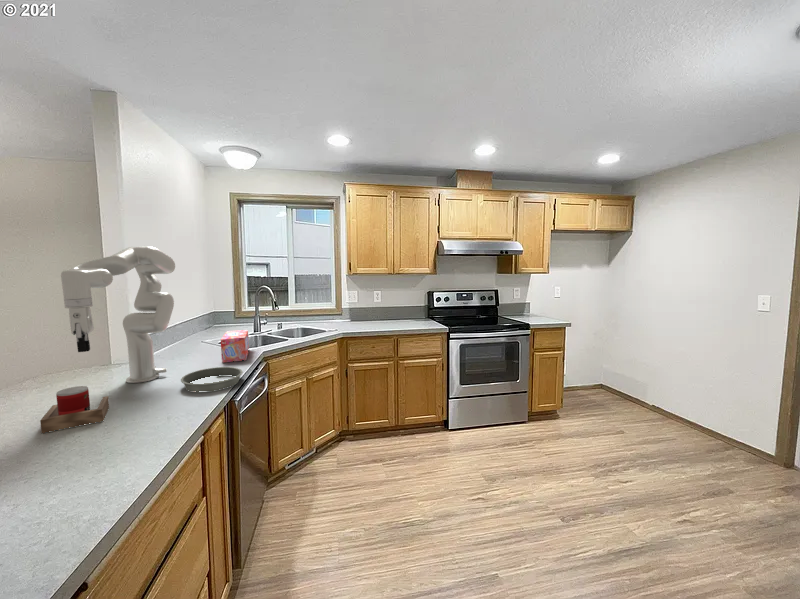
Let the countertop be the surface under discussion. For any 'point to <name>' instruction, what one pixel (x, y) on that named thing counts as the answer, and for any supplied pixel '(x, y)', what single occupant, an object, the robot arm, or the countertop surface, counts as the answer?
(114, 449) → the countertop surface
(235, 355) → the box
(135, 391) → the countertop surface
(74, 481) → the countertop surface
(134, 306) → the robot arm
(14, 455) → the countertop surface
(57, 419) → the walnut holder
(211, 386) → the cake pan
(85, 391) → the canned food
